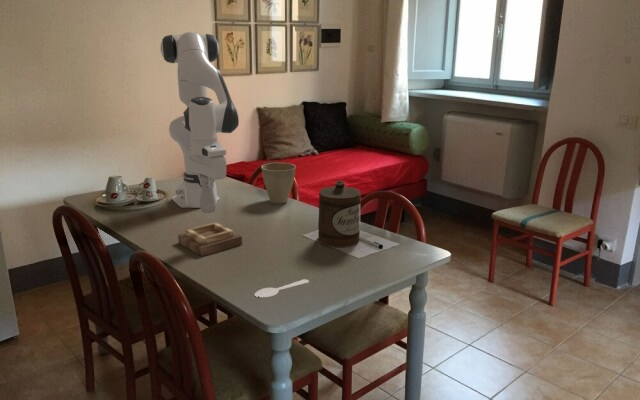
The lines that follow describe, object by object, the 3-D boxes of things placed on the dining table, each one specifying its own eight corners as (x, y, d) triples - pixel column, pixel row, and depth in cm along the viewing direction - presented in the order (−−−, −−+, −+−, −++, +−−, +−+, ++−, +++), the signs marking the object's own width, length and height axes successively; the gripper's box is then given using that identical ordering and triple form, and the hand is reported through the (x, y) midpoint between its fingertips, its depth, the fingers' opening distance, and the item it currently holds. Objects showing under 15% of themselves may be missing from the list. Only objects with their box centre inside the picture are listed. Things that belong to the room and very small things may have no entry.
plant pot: (256, 204, 230) (255, 168, 225) (271, 195, 243) (270, 161, 238) (287, 208, 224) (286, 171, 220) (301, 198, 238) (301, 164, 233)
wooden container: (341, 251, 180) (342, 189, 173) (309, 240, 189) (309, 181, 183) (367, 239, 190) (369, 180, 184) (336, 229, 200) (337, 173, 193)
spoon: (313, 284, 156) (313, 283, 155) (259, 301, 146) (259, 299, 146) (303, 278, 160) (303, 276, 160) (250, 293, 150) (250, 291, 150)
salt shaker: (204, 215, 178) (203, 177, 174) (196, 211, 182) (194, 174, 178) (220, 211, 181) (218, 175, 178) (211, 208, 186) (210, 172, 182)
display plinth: (178, 242, 186) (177, 229, 184) (218, 232, 196) (217, 219, 195) (201, 256, 174) (200, 242, 173) (242, 244, 185) (241, 231, 183)
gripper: (180, 143, 180) (183, 182, 185) (211, 153, 166) (214, 195, 170) (197, 141, 184) (199, 179, 189) (228, 150, 170) (231, 191, 174)
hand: (207, 187), depth 179 cm, fingers closed on salt shaker, 3 cm apart
